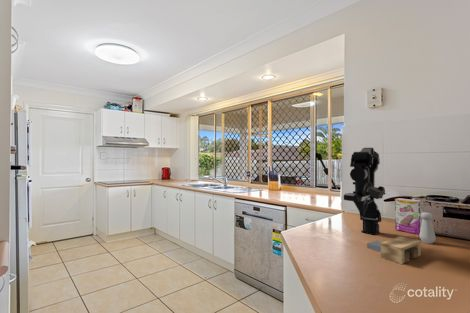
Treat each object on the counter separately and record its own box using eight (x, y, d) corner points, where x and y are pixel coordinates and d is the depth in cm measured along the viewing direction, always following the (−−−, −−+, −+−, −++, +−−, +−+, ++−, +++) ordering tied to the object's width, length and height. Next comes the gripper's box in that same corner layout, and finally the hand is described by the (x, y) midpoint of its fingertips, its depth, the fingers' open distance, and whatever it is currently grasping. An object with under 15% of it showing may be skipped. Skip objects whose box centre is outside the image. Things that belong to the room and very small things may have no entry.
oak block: (381, 257, 91) (380, 242, 91) (400, 249, 99) (400, 236, 99) (401, 264, 85) (401, 248, 85) (420, 255, 93) (420, 240, 93)
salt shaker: (439, 244, 105) (438, 214, 105) (423, 244, 106) (423, 214, 107) (431, 240, 111) (430, 211, 111) (416, 239, 112) (416, 211, 112)
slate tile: (367, 249, 102) (366, 243, 102) (377, 246, 105) (376, 240, 105) (403, 260, 90) (403, 254, 90) (413, 257, 93) (413, 250, 93)
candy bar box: (395, 230, 128) (394, 198, 129) (399, 228, 131) (398, 198, 131) (420, 235, 119) (419, 201, 119) (424, 233, 122) (423, 200, 122)
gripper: (367, 182, 96) (368, 222, 95) (392, 180, 105) (393, 216, 105) (342, 180, 105) (343, 216, 105) (367, 178, 115) (368, 211, 115)
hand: (362, 215), depth 107 cm, fingers closed
